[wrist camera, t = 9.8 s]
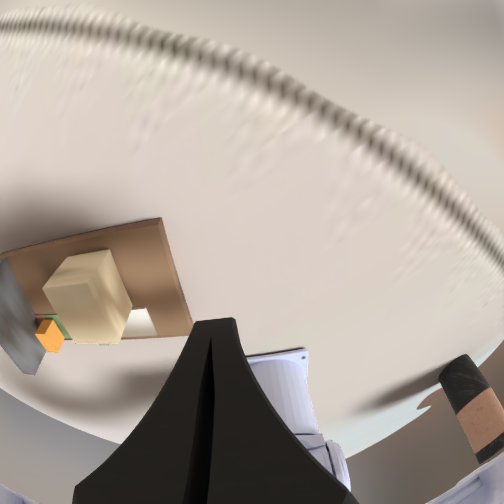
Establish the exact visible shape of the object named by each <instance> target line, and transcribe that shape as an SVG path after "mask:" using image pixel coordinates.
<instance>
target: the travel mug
mask: <svg viewBox="0 0 504 504" xmlns="http://www.w3.org/2000/svg"><path fill="white" fill-rule="evenodd" d="M439 381H440V383H441V385H442V387H443V389H444V391H445V393H446V395H447V397H448V399H449V401H450V403H451V405H452V408H453V410H454V411H455V414H456V415H457V418H458V420H459V421H460V424H461V426H462V428H463V430H464V432H465V434H466V436H467V438H468V440H469V442H470V444H471V446H472V449H473V451H474V453H475V455H476V458H477V460H478V462H479V464H481V463H483V462H484V461H485V460H487V459H488V458H490V457H491V456H493V455H494V454H495V453H497V452H498V451H499V450H500V449H502V448H503V447H504V410H503V408H502V406H501V404H500V402H499V400H498V399H497V397H496V395H495V394H494V392H493V390H492V388H491V387H490V385H489V384H488V382H487V381H486V379H485V378H484V376H483V375H482V373H481V372H480V371H479V369H478V368H477V366H476V365H475V364H474V362H473V361H472V359H471V358H470V357H469V356H468V355H467V354H465V355H462V356H460V357H458V358H457V359H455V360H454V361H453V362H452V363H450V364H449V365H448V366H447V367H446V368H445V369H444V370H443V372H442V373H441V374H440V376H439Z"/></svg>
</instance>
